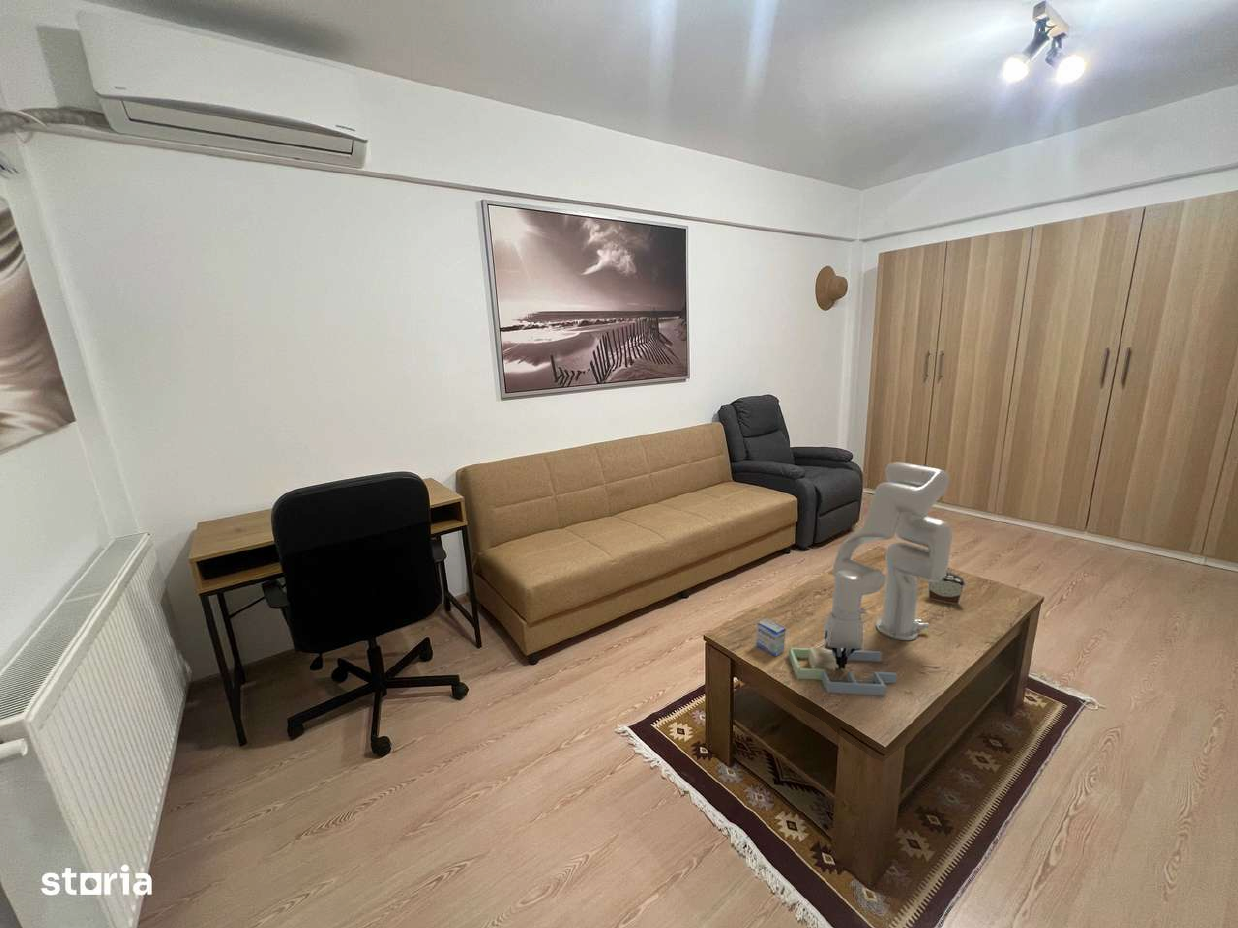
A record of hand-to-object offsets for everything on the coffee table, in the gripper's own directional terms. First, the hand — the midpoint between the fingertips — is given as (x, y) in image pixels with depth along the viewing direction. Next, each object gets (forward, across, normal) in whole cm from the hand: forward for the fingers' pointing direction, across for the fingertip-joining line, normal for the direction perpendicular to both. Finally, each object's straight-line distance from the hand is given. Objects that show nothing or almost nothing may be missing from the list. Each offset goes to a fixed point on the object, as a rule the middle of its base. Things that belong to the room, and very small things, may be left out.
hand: (840, 665), depth 150 cm
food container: (+1, -53, -47) cm, 71 cm away
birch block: (+1, +6, 0) cm, 6 cm away
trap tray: (+1, 0, +3) cm, 3 cm away
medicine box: (+2, +19, -9) cm, 21 cm away
